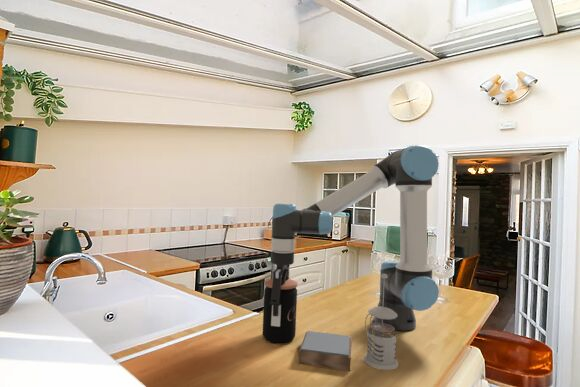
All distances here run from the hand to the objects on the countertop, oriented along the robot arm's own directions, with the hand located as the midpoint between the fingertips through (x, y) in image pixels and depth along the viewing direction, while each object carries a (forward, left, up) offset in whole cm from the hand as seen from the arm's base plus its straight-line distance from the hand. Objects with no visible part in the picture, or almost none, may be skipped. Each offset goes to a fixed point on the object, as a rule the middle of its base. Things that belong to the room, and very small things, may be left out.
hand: (279, 319), depth 109 cm
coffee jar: (0, 0, -6) cm, 6 cm away
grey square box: (-16, +8, -6) cm, 19 cm away
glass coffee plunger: (-31, +6, -6) cm, 32 cm away
